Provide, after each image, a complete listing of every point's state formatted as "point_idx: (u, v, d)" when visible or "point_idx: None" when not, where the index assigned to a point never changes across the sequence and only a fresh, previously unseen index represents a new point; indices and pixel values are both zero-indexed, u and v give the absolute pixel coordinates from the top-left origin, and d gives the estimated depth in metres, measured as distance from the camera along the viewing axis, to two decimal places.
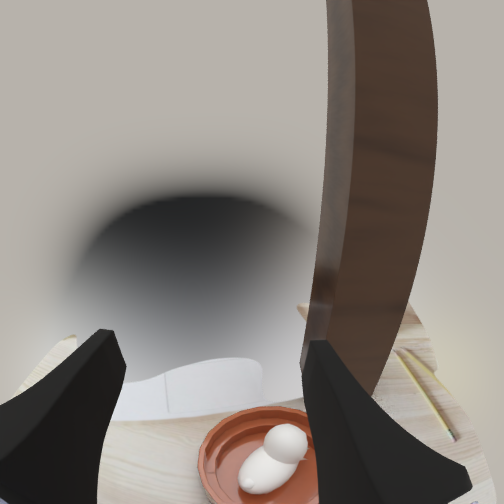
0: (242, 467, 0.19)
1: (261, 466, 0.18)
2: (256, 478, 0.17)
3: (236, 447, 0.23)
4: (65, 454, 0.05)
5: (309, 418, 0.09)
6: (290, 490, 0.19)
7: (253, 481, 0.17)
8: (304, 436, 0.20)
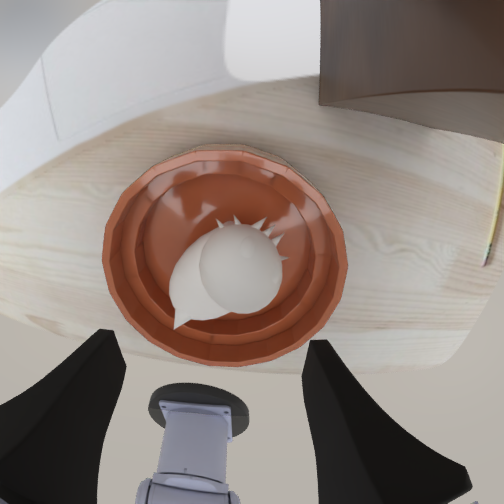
0: (172, 286, 0.15)
1: (198, 300, 0.14)
2: (193, 314, 0.15)
3: (167, 203, 0.16)
4: (65, 454, 0.05)
5: (309, 418, 0.09)
6: None
7: (189, 317, 0.15)
8: (274, 290, 0.12)
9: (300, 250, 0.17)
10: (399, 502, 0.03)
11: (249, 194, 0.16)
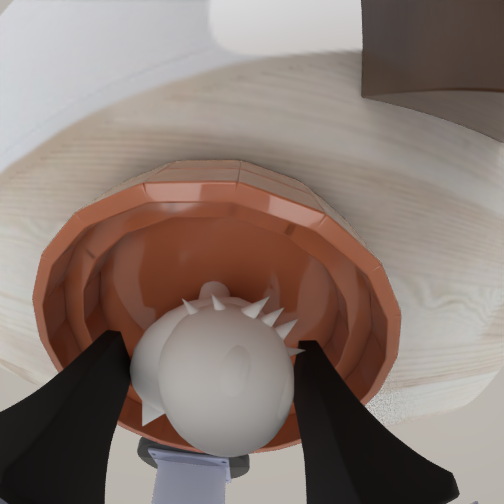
0: (132, 377, 0.09)
1: None
2: None
3: (125, 253, 0.10)
4: (74, 457, 0.05)
5: (298, 419, 0.09)
6: None
7: (161, 413, 0.10)
8: (280, 427, 0.06)
9: (324, 317, 0.11)
10: None
11: (249, 241, 0.10)
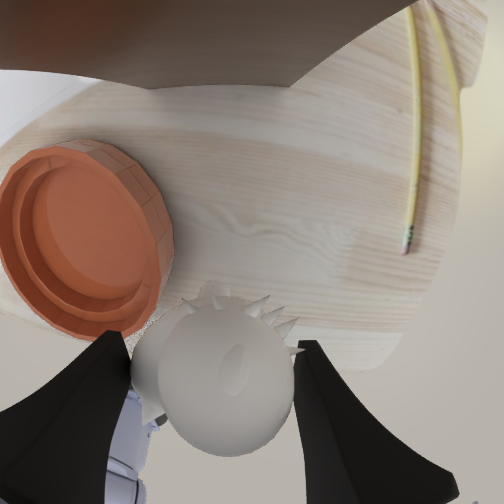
0: (132, 377, 0.09)
1: None
2: None
3: (42, 195, 0.15)
4: (74, 457, 0.05)
5: (298, 419, 0.09)
6: (111, 267, 0.18)
7: (160, 413, 0.10)
8: (280, 426, 0.06)
9: None
10: None
11: (93, 182, 0.15)
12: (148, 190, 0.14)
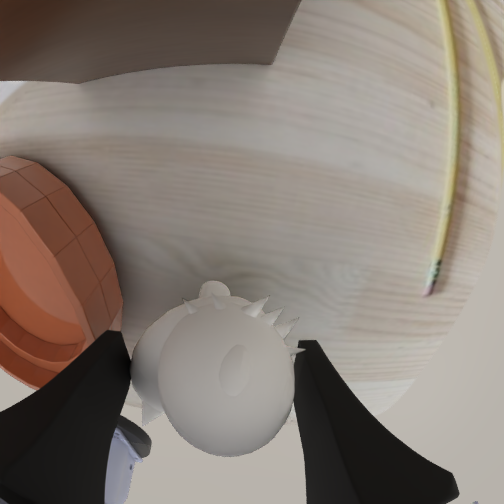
0: (132, 377, 0.09)
1: None
2: None
3: None
4: (74, 457, 0.05)
5: (298, 419, 0.09)
6: (56, 311, 0.13)
7: (161, 413, 0.10)
8: (280, 426, 0.06)
9: None
10: None
11: None
12: (74, 225, 0.09)
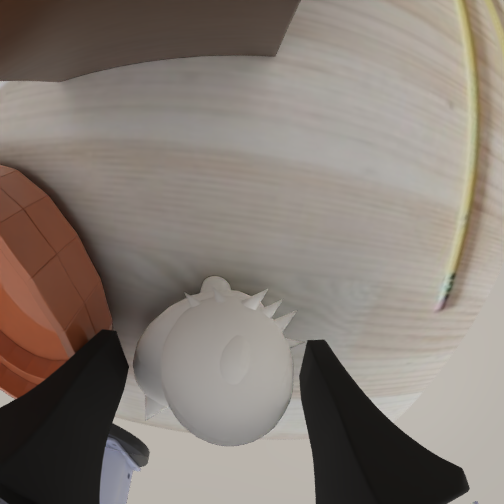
0: (135, 371, 0.10)
1: None
2: (168, 406, 0.10)
3: None
4: (68, 455, 0.05)
5: (306, 418, 0.09)
6: (45, 327, 0.12)
7: (163, 407, 0.10)
8: (280, 416, 0.06)
9: None
10: (394, 503, 0.03)
11: None
12: (54, 240, 0.08)
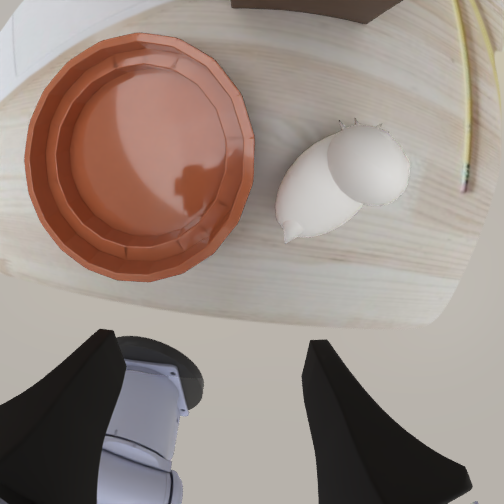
0: (285, 193, 0.14)
1: (319, 204, 0.13)
2: (308, 224, 0.14)
3: (90, 110, 0.13)
4: (65, 454, 0.05)
5: (309, 418, 0.09)
6: (169, 191, 0.16)
7: (302, 229, 0.14)
8: (408, 177, 0.11)
9: (217, 145, 0.15)
10: (399, 502, 0.03)
11: (161, 90, 0.13)
12: None
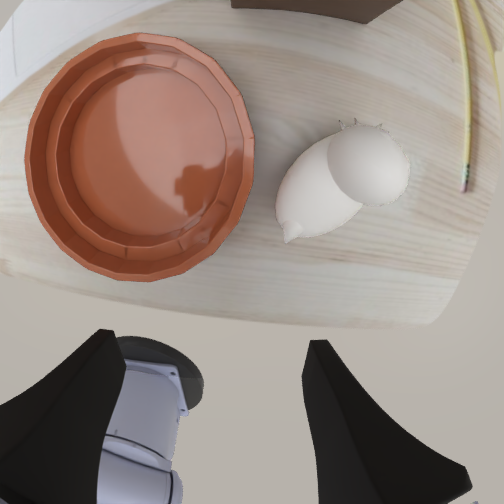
0: (285, 193, 0.14)
1: (319, 204, 0.13)
2: (308, 224, 0.14)
3: (90, 110, 0.13)
4: (65, 454, 0.05)
5: (309, 418, 0.09)
6: (169, 191, 0.16)
7: (302, 229, 0.14)
8: (408, 177, 0.11)
9: (217, 145, 0.15)
10: (399, 502, 0.03)
11: (161, 90, 0.13)
12: None
